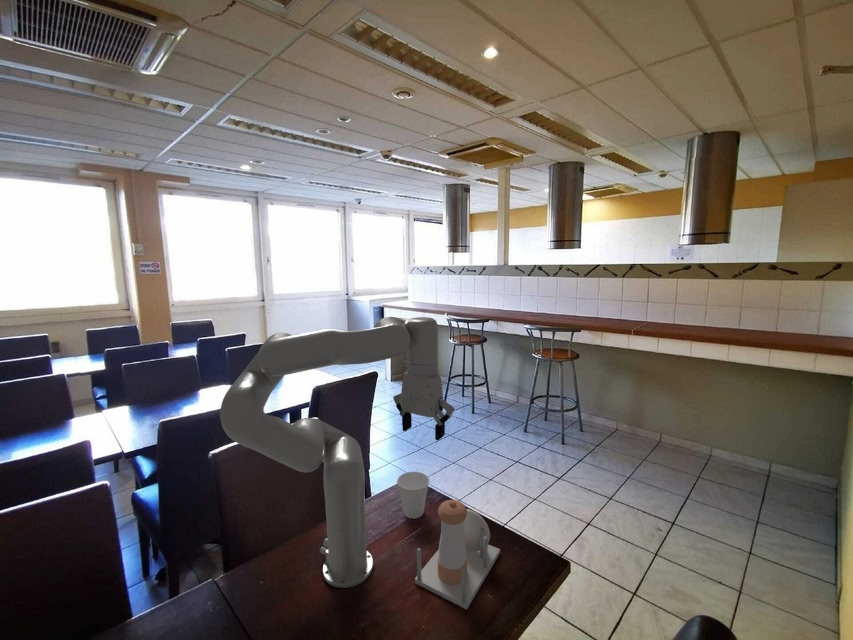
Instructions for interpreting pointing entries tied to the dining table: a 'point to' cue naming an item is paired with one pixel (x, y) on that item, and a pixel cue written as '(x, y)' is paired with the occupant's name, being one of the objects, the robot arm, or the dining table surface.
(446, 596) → the dish rack
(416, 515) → the cup
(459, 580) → the salt shaker
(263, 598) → the dining table surface
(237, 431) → the robot arm
